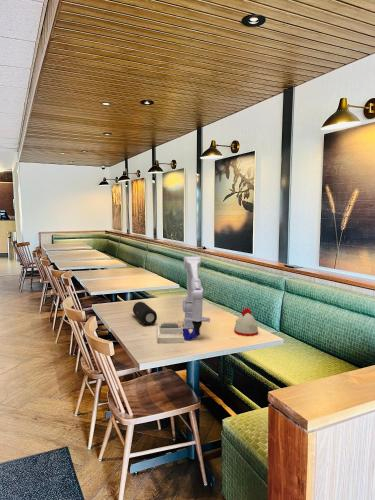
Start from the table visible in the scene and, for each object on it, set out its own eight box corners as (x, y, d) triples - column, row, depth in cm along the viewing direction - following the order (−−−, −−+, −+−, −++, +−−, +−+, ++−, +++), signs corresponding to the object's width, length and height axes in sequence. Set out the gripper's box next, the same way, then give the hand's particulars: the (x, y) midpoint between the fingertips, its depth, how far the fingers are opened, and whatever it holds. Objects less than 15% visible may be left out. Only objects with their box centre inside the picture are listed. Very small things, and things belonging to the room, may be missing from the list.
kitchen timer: (229, 331, 216) (230, 306, 215) (245, 327, 224) (246, 303, 223) (246, 338, 205) (247, 312, 203) (262, 333, 213) (263, 308, 212)
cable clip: (189, 340, 198) (189, 329, 198) (183, 339, 201) (182, 328, 201) (202, 334, 208) (201, 324, 207) (195, 333, 210) (195, 323, 210)
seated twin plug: (160, 331, 214) (161, 322, 213) (177, 330, 215) (177, 322, 214) (161, 333, 210) (161, 324, 210) (178, 332, 211) (178, 324, 211)
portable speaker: (131, 315, 244) (131, 301, 243) (145, 314, 248) (145, 300, 247) (143, 327, 221) (143, 311, 220) (158, 325, 225) (158, 309, 224)
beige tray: (157, 330, 215) (157, 325, 215) (180, 330, 216) (180, 325, 216) (158, 343, 194) (158, 337, 194) (183, 342, 196) (184, 337, 195)
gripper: (184, 312, 196) (184, 336, 198) (211, 312, 198) (210, 336, 199) (183, 309, 203) (183, 332, 205) (209, 309, 205) (208, 332, 206)
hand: (196, 334), depth 202 cm, fingers closed
